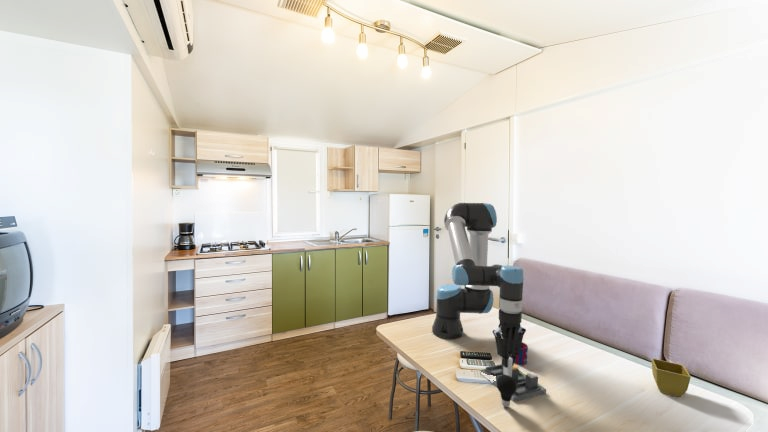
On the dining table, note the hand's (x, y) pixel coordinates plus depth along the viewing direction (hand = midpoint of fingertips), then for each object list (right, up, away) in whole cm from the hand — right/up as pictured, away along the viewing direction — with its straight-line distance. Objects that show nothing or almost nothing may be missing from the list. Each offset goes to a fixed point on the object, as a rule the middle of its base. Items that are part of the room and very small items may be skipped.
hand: (507, 374), depth 110 cm
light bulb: (-6, -4, -12) cm, 14 cm away
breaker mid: (+2, -2, +1) cm, 3 cm away
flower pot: (+56, -5, -2) cm, 56 cm away
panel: (+2, -3, +1) cm, 4 cm away
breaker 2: (+7, -2, -4) cm, 8 cm away
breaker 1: (+3, -1, +7) cm, 8 cm away
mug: (+10, -3, +18) cm, 21 cm away
